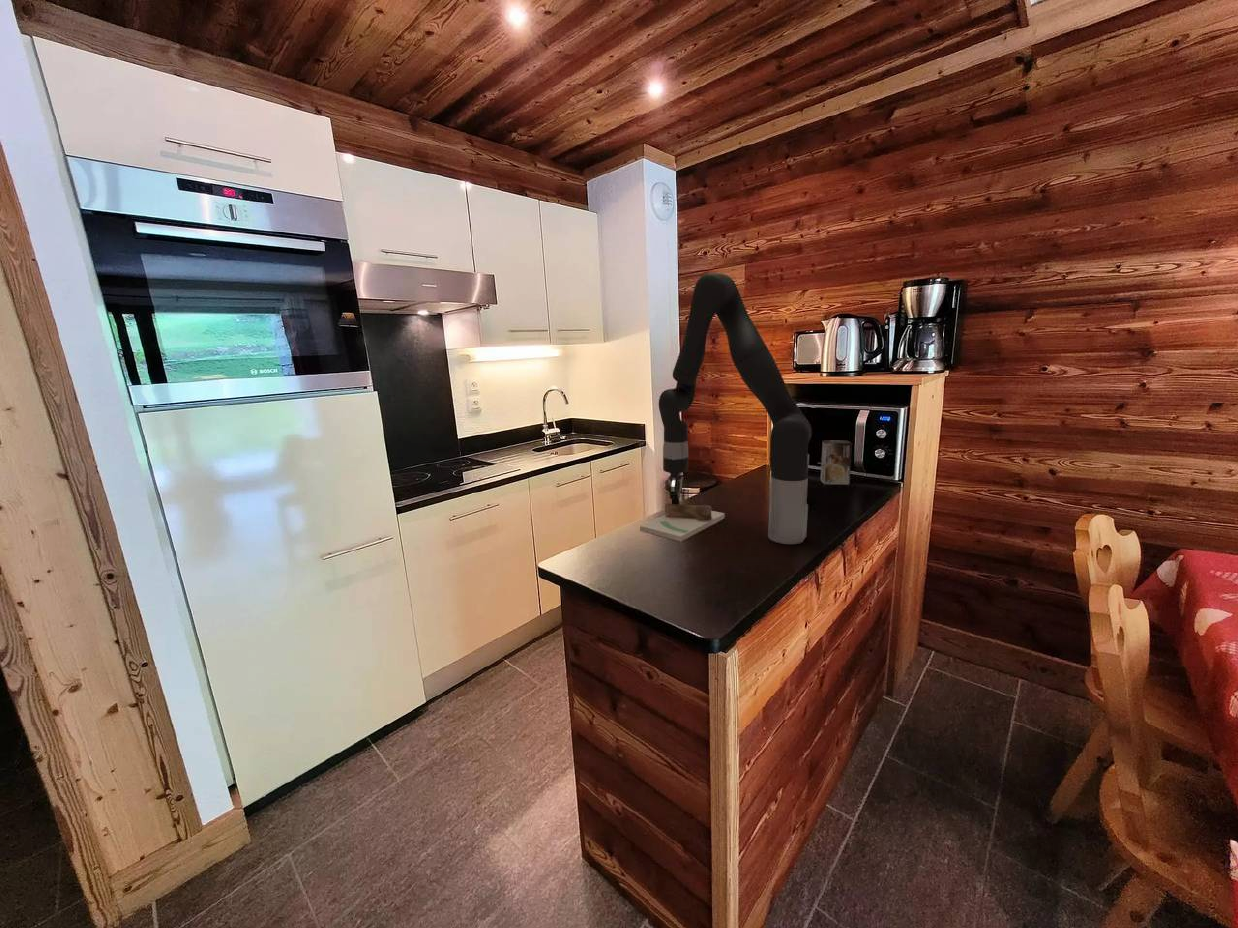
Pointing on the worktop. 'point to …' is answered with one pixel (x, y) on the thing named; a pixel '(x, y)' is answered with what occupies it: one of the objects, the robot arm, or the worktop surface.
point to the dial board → (679, 526)
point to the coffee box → (836, 462)
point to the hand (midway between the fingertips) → (675, 510)
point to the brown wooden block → (688, 511)
